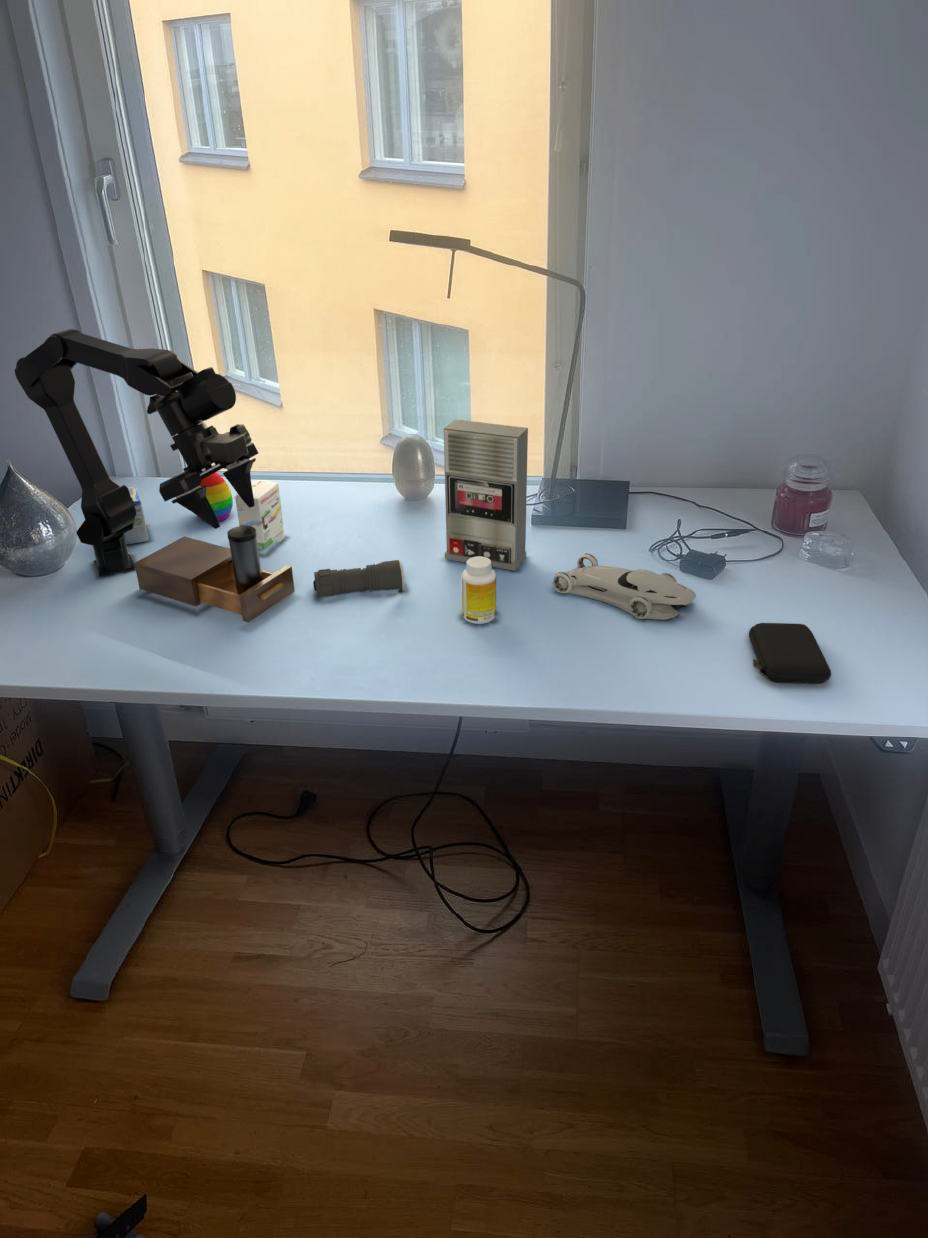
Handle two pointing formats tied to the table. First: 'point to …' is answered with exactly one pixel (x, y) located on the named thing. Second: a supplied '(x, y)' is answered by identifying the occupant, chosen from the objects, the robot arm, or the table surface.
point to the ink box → (263, 513)
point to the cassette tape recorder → (486, 492)
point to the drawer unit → (180, 568)
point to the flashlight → (360, 579)
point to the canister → (245, 557)
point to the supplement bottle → (479, 591)
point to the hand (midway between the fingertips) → (235, 517)
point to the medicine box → (137, 521)
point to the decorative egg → (218, 495)
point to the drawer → (250, 603)
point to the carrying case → (788, 653)
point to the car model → (626, 589)
